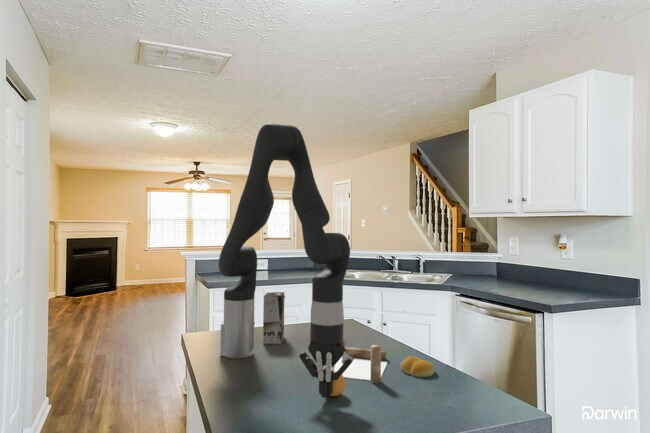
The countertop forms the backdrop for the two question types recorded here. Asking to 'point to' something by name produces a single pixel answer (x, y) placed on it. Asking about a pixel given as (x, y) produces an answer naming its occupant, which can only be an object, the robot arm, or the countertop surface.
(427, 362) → the bread roll
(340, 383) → the ball
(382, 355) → the stopper rail
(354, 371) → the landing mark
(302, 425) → the countertop surface
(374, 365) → the post
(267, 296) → the coffee box
